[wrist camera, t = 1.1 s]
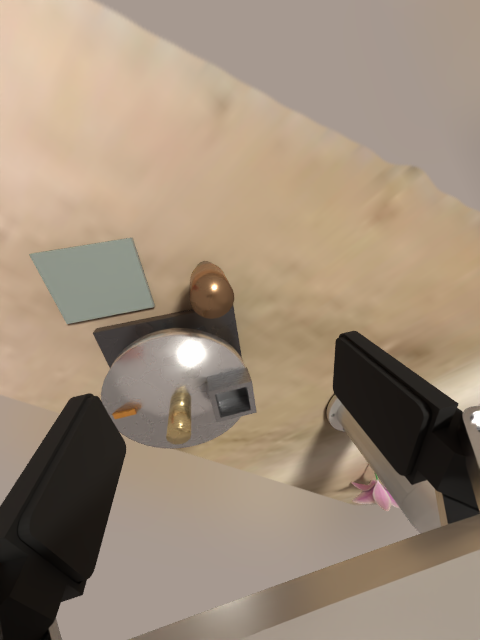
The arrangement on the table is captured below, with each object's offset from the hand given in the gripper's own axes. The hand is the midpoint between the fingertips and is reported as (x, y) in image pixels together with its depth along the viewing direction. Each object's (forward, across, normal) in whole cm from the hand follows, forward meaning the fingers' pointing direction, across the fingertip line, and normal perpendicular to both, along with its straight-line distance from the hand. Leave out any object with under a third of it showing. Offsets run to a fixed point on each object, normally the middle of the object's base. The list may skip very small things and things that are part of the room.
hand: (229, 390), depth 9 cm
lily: (+20, -28, +55) cm, 65 cm away
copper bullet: (+21, 0, 0) cm, 21 cm away
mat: (+21, +12, -1) cm, 24 cm away
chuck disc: (+16, +6, +13) cm, 22 cm away
